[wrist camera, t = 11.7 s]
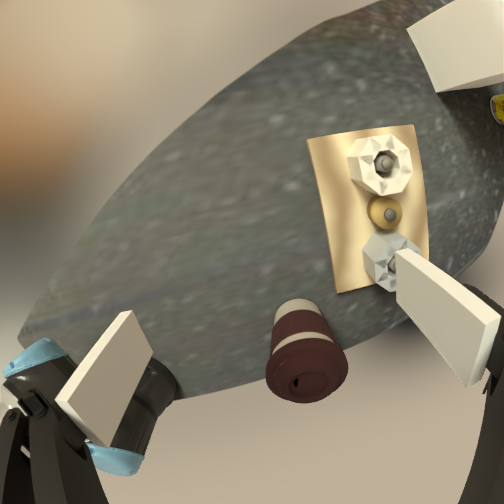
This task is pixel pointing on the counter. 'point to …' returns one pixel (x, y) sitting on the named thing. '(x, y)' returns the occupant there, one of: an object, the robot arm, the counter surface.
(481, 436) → the robot arm
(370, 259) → the seated gear
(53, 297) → the counter surface
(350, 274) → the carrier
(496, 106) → the supplement bottle
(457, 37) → the milk
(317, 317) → the coffee cup
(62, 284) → the counter surface
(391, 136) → the white octagonal block
